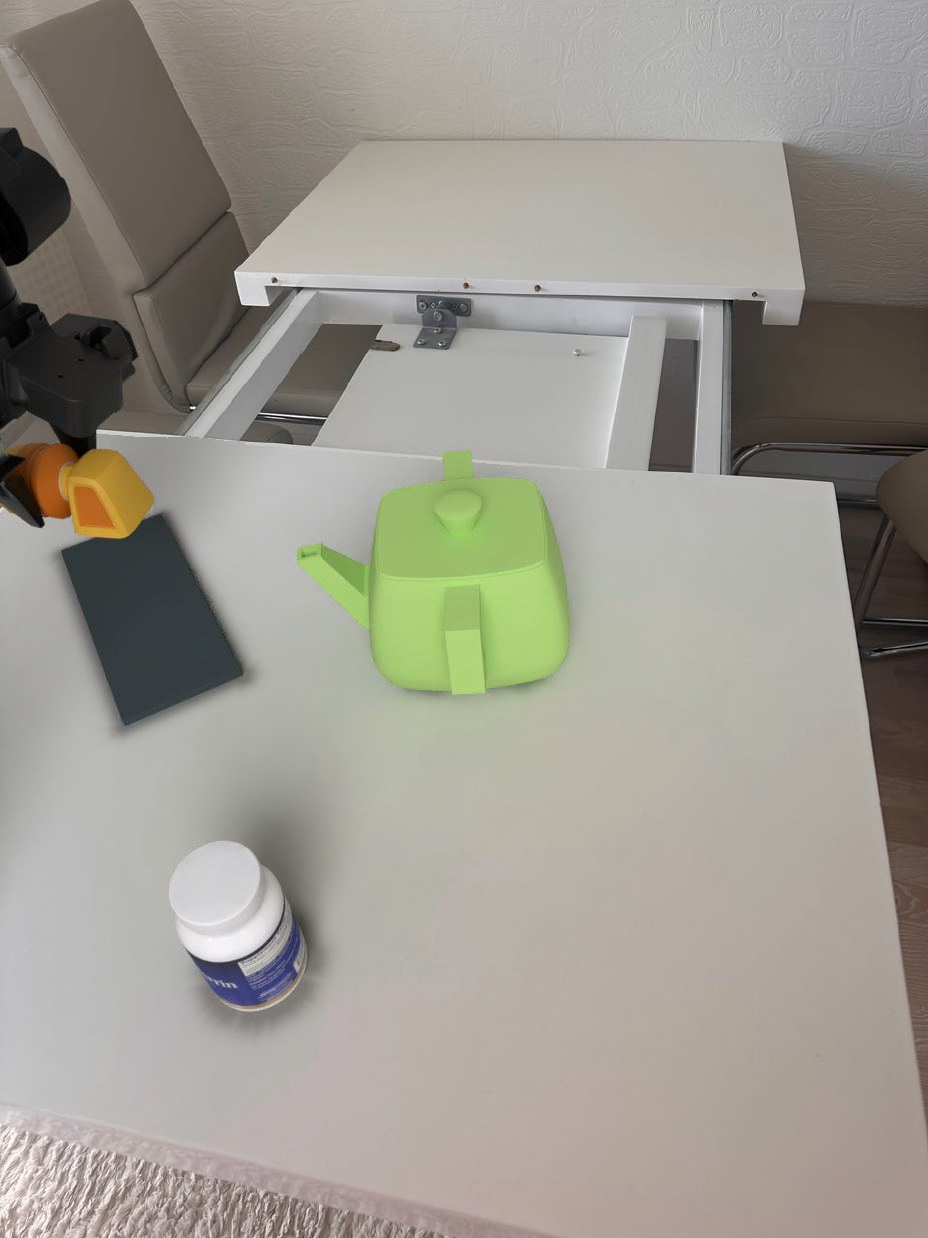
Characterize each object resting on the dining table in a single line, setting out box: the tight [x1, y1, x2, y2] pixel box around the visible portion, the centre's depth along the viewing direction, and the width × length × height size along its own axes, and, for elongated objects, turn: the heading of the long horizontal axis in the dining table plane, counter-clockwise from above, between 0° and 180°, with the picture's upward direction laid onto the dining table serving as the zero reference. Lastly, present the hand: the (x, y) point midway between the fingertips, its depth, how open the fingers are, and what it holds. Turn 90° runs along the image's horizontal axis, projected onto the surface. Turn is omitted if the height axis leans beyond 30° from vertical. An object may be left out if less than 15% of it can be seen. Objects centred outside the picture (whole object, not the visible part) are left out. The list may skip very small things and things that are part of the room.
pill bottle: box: [167, 839, 308, 1012], centre depth 51 cm, size 6×6×10 cm
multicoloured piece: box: [0, 442, 156, 539], centre depth 68 cm, size 5×6×12 cm
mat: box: [60, 513, 243, 727], centre depth 76 cm, size 9×22×1 cm, turn 28°
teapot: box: [295, 448, 570, 696], centre depth 67 cm, size 18×20×13 cm
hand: (65, 501), depth 69 cm, fingers closed on multicoloured piece, 5 cm apart
